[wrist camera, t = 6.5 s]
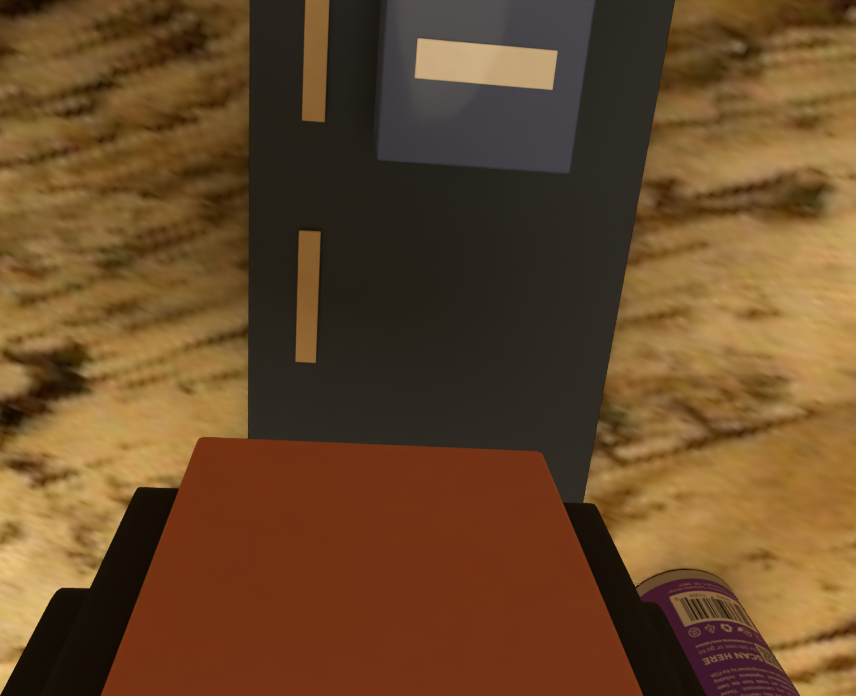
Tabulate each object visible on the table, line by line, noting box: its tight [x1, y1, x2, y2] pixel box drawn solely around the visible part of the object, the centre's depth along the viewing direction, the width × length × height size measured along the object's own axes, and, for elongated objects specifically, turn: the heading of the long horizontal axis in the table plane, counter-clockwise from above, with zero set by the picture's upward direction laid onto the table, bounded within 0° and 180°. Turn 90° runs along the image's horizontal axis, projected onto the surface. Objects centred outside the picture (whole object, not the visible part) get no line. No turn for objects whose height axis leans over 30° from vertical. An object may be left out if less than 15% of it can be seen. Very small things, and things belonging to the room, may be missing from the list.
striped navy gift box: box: [373, 0, 596, 174], centre depth 19 cm, size 4×4×4 cm
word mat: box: [248, 0, 675, 503], centre depth 24 cm, size 22×11×1 cm, turn 175°
